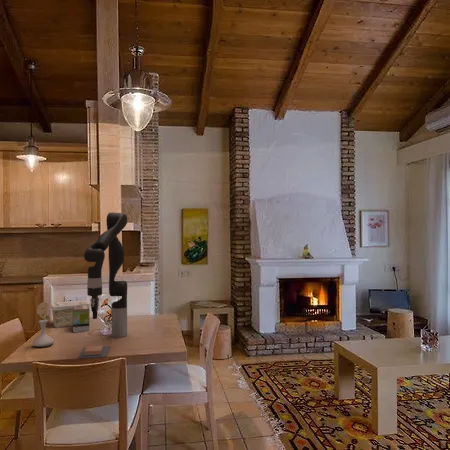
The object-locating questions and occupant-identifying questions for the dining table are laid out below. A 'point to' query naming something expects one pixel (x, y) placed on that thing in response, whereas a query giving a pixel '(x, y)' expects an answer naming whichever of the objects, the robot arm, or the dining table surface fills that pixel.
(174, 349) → the dining table surface
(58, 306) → the storage basket
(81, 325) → the tea box
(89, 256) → the robot arm
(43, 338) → the flower in vase
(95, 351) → the tile
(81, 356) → the mat
